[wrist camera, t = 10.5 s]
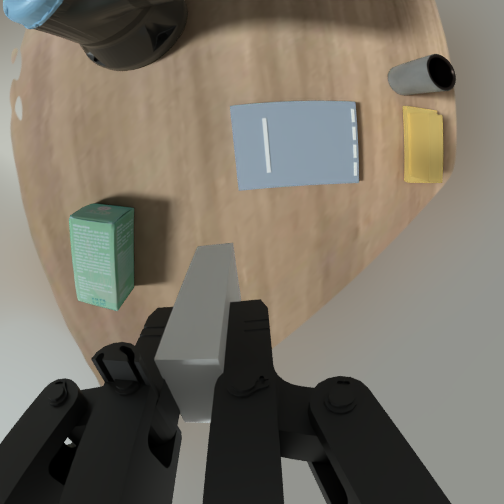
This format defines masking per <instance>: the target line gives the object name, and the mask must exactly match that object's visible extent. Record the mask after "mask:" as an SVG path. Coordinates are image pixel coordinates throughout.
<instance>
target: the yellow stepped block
mask: <svg viewBox="0 0 504 504" xmlns="http://www.w3.org/2000/svg"><path fill="white" fill-rule="evenodd" d="M403 121H404V154H405V163H404V181H406V182H408V183H442V175H443V121H442V115H437V111H436V110H430V109H423V108H417V107H409V106H403Z"/></svg>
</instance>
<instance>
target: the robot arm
mask: <svg viewBox="0 0 504 504" xmlns="http://www.w3.org/2000/svg"><path fill="white" fill-rule="evenodd" d="M3 8H4V12H5V14H6V16H7V17H8V18H9V19H10V20H12V21H14V22H17V23H20V24H22V25H24V26H25V28H27V29H36V30H39V31H43V32H46V33H49V34H53V35H56V36H59V37H62V38H65V39H68V40H70V41H73V42H76V43H79V44H80V46H81V47H82V49H83V50H84V52H85V53H86V55H87V56H88V57H89V58H90V60H92V61H93V62H94V63H96V64H97V65H99V66H101V67H104V68H107V69H110V70H115V71H128V70H134V69H137V68H140V67H143V66H145V65H148V64H150V63H152V62H153V61H155V60H157V59H158V58H160V57H161V56H162V55H163V54H165V53H166V52H167V51H168V50H169V49H170V48H171V47H172V46H173V45H174V44H175V42H176V41H177V40H178V38H179V37H180V35H181V33H182V31H183V29H184V27H185V24H186V20H187V6H186V3H185V0H3ZM92 361H93V363H94V365H95V366H96V368H97V370H98V371H99V373H100V375H101V376H102V378H103V380H104V381H105V383H104V386H102V387H98V388H91V389H85V390H80V389H79V387H78V386H77V385H76V383H74V382H73V381H72V380H70V379H58V380H56V381H54V382H52V383H50V384H49V385H48V386H47V387H45V388H44V390H43V391H42V392H41V393H40V394H39V396H38V397H37V398H36V399H35V400H34V402H33V403H32V404H31V405H30V406H29V408H28V409H27V410H26V411H25V413H24V414H23V415H22V416H21V418H20V419H19V421H17V423H16V424H15V425H14V427H13V428H12V429H11V431H10V432H9V433H8V434H7V436H6V437H5V438H4V440H3V441H2V442H1V444H0V504H172V498H173V491H174V485H175V478H176V471H177V464H178V458H179V452H180V446H181V440H182V436H181V431H180V429H179V427H178V426H177V424H178V419H179V414H181V416H182V418H183V419H184V421H185V422H200V423H203V422H205V423H210V433H209V442H208V453H207V462H206V472H205V483H204V494H203V504H284V496H283V482H282V468H281V457H285V458H290V459H296V460H302V461H307V462H308V464H309V467H310V469H311V471H312V473H313V475H314V477H315V480H316V482H317V484H318V486H319V488H320V490H321V492H322V494H323V497H324V499H325V501H326V503H327V504H451V503H450V501H449V500H448V498H447V497H446V496H445V494H444V493H443V491H442V490H441V488H440V487H439V486H438V484H437V483H436V482H435V480H434V479H433V477H432V476H431V474H430V473H429V471H428V470H427V469H426V467H425V466H424V465H423V463H422V462H421V460H420V459H419V457H418V456H417V455H416V453H415V452H414V450H413V449H412V448H411V446H410V445H409V443H408V442H407V441H406V439H405V438H404V437H403V435H402V434H401V433H400V431H399V430H398V428H397V427H396V425H395V424H394V423H393V421H392V420H391V419H390V417H389V416H388V414H387V413H386V412H385V410H384V409H383V407H382V406H381V405H380V403H379V402H378V401H377V399H376V398H375V397H374V395H373V394H372V392H371V391H370V390H369V389H368V387H367V386H365V385H364V384H363V383H362V382H361V381H359V380H356V379H354V378H351V377H343V376H337V377H332V378H328V379H326V380H324V381H322V382H320V383H318V384H317V386H316V387H315V388H311V387H302V386H297V385H293V384H290V383H288V382H286V381H284V380H283V379H282V378H280V377H279V376H278V375H277V373H276V372H275V370H274V367H273V358H272V347H271V336H270V326H269V315H268V308H267V306H266V305H265V304H264V303H263V302H262V301H261V299H260V300H249V301H241V295H240V289H239V282H238V275H237V268H236V261H235V254H234V247H233V243H226V244H216V245H206V246H198V247H197V249H196V252H195V254H194V257H193V259H192V261H191V264H190V266H189V269H188V271H187V274H186V276H185V279H184V281H183V284H182V286H181V289H180V291H179V294H178V296H177V299H176V302H175V304H174V307H163V308H157V309H156V310H155V311H154V312H153V313H152V314H151V315H150V316H149V317H148V319H147V321H146V323H145V325H144V329H143V330H142V332H141V334H140V338H138V341H137V343H136V345H135V346H134V345H132V344H131V343H125V342H119V343H113V344H110V345H107V346H105V347H103V348H102V349H100V350H99V351H98V352H96V354H95V355H94V356H93V357H92ZM67 437H68V438H69V439H70V440H71V441H72V443H71V444H68V445H66V444H65V443H64V441H65V440H66V439H67Z"/></svg>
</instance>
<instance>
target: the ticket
mask: <svg viewBox="0 0 504 504" xmlns="http://www.w3.org/2000/svg"><path fill="white" fill-rule="evenodd" d="M230 111H231V121H232V131H233V140H234V149H235V159H236V168H237V178H238V187H239V191H240V190H250V189H262V188H274V187H287V186H301V185H318V184H339V183H359V159H358V134H357V117H356V104H355V102H347V101H288V102H269V103H255V104H244V105H234V106H230Z"/></svg>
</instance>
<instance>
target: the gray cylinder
mask: <svg viewBox="0 0 504 504" xmlns="http://www.w3.org/2000/svg"><path fill="white" fill-rule="evenodd" d="M455 81H456V76H455V72H454V69H453V67H452V65H451V64H450V62H449V61H448V60H447V59H446V58H445V57H443V56H441V55H439V54H433V55H429V56H426V57H422V58H419V59H416V60H413V61H410V62H407V63H404V64H401V65H398V66H395V67H393V68H392V69H390V71H389V73H388V82H389V84H390V86H391V88H392V89H393V90H394V91H395V92H396V93H398V94H400V95H413V94H421V93H430V92H440V91H449V90H451V89H452V88H453V87H454V85H455Z"/></svg>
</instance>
